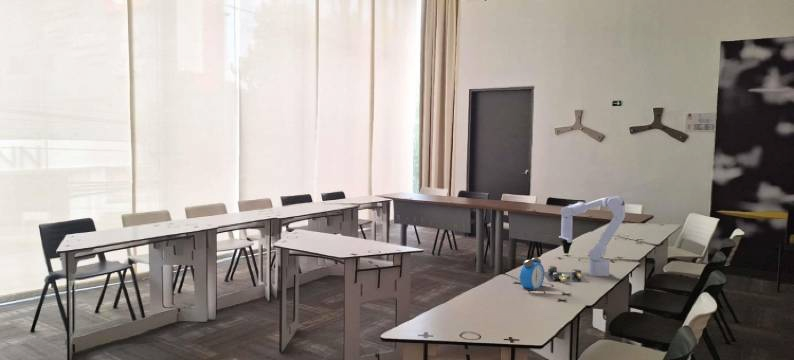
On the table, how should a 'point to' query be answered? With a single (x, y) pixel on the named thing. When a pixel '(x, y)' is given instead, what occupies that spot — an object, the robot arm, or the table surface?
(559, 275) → the knob
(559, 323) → the table surface
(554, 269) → the knob
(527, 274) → the alarm clock
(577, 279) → the dark grey square plate
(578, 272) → the knob
